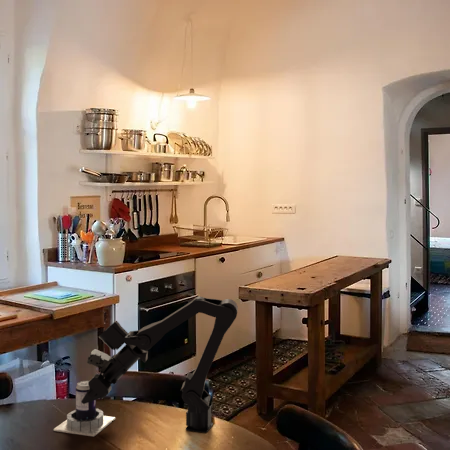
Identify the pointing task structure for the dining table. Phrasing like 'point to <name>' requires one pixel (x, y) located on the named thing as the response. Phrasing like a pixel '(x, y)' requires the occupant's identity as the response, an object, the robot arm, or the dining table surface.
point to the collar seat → (84, 424)
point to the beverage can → (86, 409)
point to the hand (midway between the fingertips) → (87, 397)
